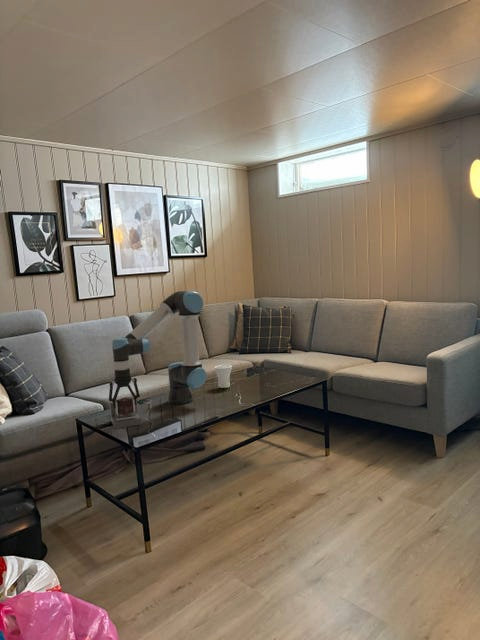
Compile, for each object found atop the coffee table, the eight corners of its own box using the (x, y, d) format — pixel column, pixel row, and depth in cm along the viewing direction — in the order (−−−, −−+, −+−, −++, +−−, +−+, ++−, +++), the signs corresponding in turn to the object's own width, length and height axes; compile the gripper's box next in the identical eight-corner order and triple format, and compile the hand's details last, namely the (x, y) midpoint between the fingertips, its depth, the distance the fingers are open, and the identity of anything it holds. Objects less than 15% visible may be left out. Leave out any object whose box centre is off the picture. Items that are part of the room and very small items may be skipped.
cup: (213, 389, 302) (211, 368, 301) (219, 385, 313) (217, 364, 311) (229, 390, 299) (228, 368, 297) (235, 386, 309) (234, 364, 308)
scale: (136, 417, 252) (134, 398, 252) (141, 424, 240) (139, 404, 239) (111, 421, 248) (109, 402, 247) (114, 428, 235) (113, 408, 234)
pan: (134, 412, 248) (134, 411, 248) (137, 417, 240) (137, 415, 239) (114, 416, 244) (114, 414, 244) (116, 420, 236) (116, 419, 236)
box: (134, 412, 242) (133, 398, 241) (124, 415, 238) (123, 401, 237) (126, 410, 246) (125, 396, 245) (117, 413, 242) (115, 399, 241)
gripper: (141, 365, 247) (144, 407, 249) (100, 370, 239) (103, 414, 241) (143, 367, 240) (147, 411, 242) (101, 372, 232) (105, 417, 234)
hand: (125, 412), depth 242 cm, fingers closed on box, 8 cm apart
